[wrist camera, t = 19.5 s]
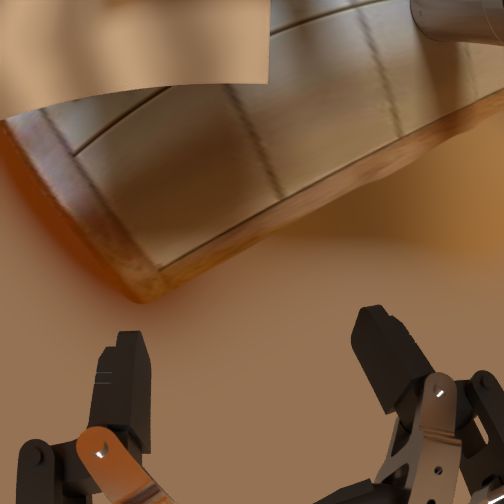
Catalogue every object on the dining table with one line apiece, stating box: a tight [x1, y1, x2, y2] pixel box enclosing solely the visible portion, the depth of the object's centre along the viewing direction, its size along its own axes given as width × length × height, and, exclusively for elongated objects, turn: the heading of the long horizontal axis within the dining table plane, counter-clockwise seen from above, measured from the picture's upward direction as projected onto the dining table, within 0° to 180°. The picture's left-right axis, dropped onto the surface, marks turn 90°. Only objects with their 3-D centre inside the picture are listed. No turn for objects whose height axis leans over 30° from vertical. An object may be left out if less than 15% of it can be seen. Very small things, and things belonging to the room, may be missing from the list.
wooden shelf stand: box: [0, 0, 271, 120], centre depth 17 cm, size 21×17×20 cm
